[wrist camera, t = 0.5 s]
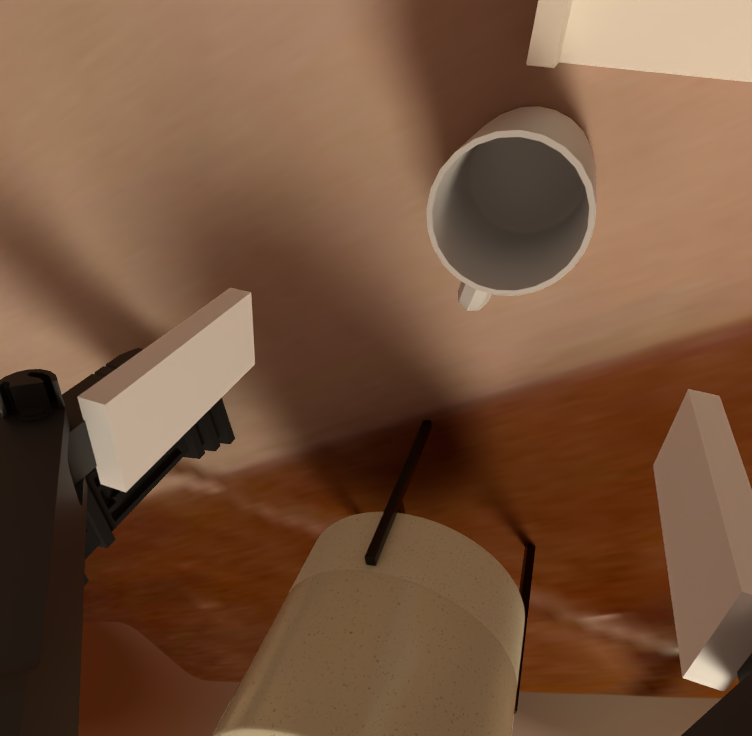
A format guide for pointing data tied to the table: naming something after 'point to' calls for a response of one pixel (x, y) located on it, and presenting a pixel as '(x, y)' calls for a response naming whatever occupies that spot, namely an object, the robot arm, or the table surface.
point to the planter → (390, 634)
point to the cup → (514, 205)
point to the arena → (646, 36)
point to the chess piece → (149, 478)
